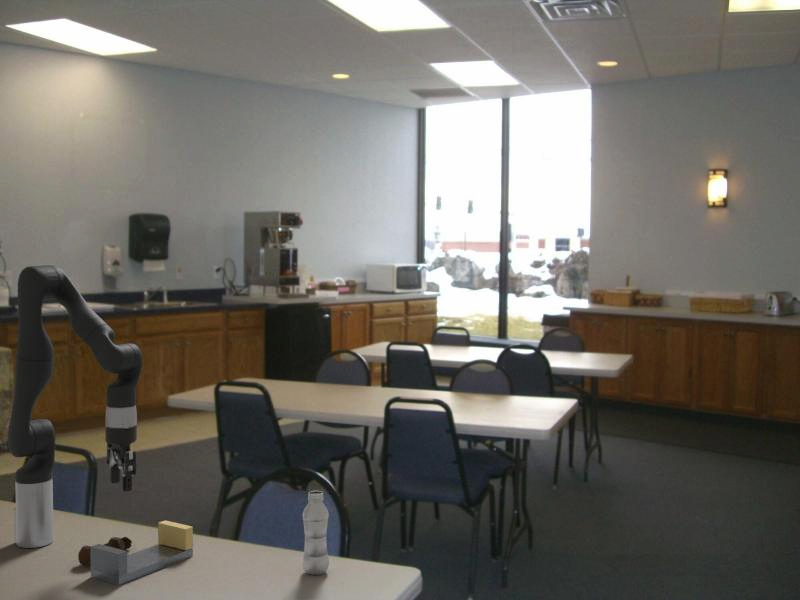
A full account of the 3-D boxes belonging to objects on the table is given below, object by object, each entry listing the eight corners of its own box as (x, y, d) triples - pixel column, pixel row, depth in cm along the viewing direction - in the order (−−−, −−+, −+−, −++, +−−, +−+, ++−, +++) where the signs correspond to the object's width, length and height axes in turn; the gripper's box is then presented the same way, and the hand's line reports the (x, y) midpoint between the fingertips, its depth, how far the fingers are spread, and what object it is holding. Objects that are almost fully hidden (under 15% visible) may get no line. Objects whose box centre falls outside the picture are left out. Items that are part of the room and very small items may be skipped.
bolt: (130, 556, 231) (87, 573, 218) (117, 544, 233) (74, 560, 219) (139, 539, 230) (96, 555, 216) (126, 527, 232) (83, 542, 218)
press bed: (90, 577, 211) (90, 546, 211) (165, 548, 232) (165, 521, 231) (119, 585, 206) (118, 554, 205) (192, 556, 226) (192, 527, 226)
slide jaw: (158, 543, 229) (158, 522, 229) (165, 540, 231) (165, 520, 231) (185, 550, 224) (185, 529, 224) (192, 547, 226) (192, 526, 226)
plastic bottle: (333, 569, 217) (333, 490, 216) (321, 579, 211) (322, 497, 210) (309, 566, 219) (309, 488, 218) (297, 576, 213) (297, 495, 212)
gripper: (96, 419, 223) (96, 482, 224) (116, 430, 212) (116, 496, 213) (125, 416, 227) (125, 478, 228) (146, 426, 216) (146, 491, 217)
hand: (120, 486), depth 221 cm, fingers open, 8 cm apart
